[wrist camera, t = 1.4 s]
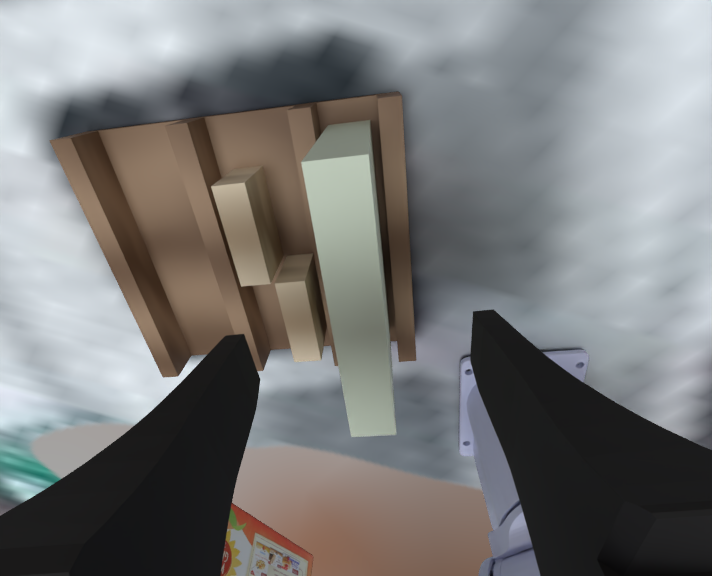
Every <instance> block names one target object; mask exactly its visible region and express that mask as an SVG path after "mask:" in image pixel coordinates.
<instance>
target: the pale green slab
mask: <svg viewBox="0 0 712 576" xmlns="http://www.w3.org/2000/svg"><path fill="white" fill-rule="evenodd" d="M301 164H302V170H303V175H304V181H305V186H306V191H307V197H308V202H309V208H310V213H311V219H312V224H313V230H314V235H315V241H316V246H317V252H318V257H319V263H320V268H321V274H322V279H323V284H324V290H325V295H326V301H327V306H328V312H329V317H330V323H331V328H332V334H333V339H334V345H335V350H336V356H337V361H338V367H339V372H340V378H341V383H342V388H343V394H344V399H345V405H346V410H347V416H348V421H349V427H350V432H351V437H362V436H383V435H396V422H395V406H394V390H393V374H392V358H391V342H390V326H389V316H388V305H387V294H386V283H385V273H384V262H383V251H382V240H381V230H380V219H379V208H378V197H377V186H376V176H375V165H374V154H373V143H372V133H371V122H370V120H366V121H357V122H349V123H341V124H333V125H328V126H327V127H326V129H325V130H324V131H323V133H322V134H321V136H320V137H319V138H318V140H317V141H316V142H315V144H314V145H313V147H312V148H311V149H310V151H309V152H308V153H307V155H306V156H305V157H304V159H303V160H302V162H301Z"/></svg>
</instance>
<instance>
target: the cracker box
mask: <svg viewBox="0 0 712 576" xmlns="http://www.w3.org/2000/svg"><path fill="white" fill-rule="evenodd" d="M312 564H313V556H312V554H310V553H308V552H307V551H305V550H304V549H302V548H301V547H299V546H297V545H296V544H294V543H293V542H291V541H290V540H288V539H287V538H285V537H284V536H282V535H280V534H279V533H277V532H276V531H274V530H273V529H271V528H269V527H268V526H267V525H265V524H263V523H262V522H261V521H259V520H257V519H256V518H254V517H253V516H251V515H250V514H248V513H247V512H245V511H244V510H242V509H240V508H239V507H237V506H236V505H234V504H233V503H232V504H231V510H230V516H229V521H228V528H227V534H226V541H225V547H224V554H223V560H222V568H221V576H311V573H312Z"/></svg>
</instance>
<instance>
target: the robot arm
mask: <svg viewBox="0 0 712 576" xmlns="http://www.w3.org/2000/svg"><path fill="white" fill-rule="evenodd" d="M579 362H581V363H579ZM588 362H589V355H588V354H587V352H586V351H584V350H567V351H552V352H541V351H540V350H539V349H538V348H537V347H535V346H534V345H533V344H532V343H530V342H529V341H528V340H527V339H526V338H525V337H524V336H522V335H521V334H520V333H519V332H518V331H517V330H516V329H514V328H513V327H512V326H511V325H510V324H509V323H508V322H507V321H506V320H505V319H503V318H502V317H501V316H500V315H499V314H498V313H497V312H496V311H494V310H484V311H474V312H473V324H472V341H471V357H466V358H464V359H462V360H461V362H460V403H459V452H460V454H461V455H463V456H474V459H475V462H476V466H477V470H478V474H479V478H480V482H481V486H482V490H483V494H484V497H485V502H486V505H487V509H488V513H489V517H490V521H491V524H492V528H493V531H491V532H489V533H488V538H489V542H490V545H491V550H492V554H493V557H490V558H487V559H486V560H485V561H484V562H483V563H482V565H481V567H480V571H479V576H712V450H710V449H707V448H705V447H703V446H700V445H698V444H696V443H694V442H692V441H690V440H687V439H685V438H683V437H681V436H679V435H677V434H675V433H672V432H670V431H668V430H666V429H664V428H662V427H660V426H658V425H656V424H654V423H652V422H650V421H648V420H646V419H644V418H643V417H641V416H639V415H637V414H635V413H633V412H632V411H630V410H628V409H626V408H624V407H622V406H621V405H619V404H617V403H615V402H614V401H612V400H610V399H609V398H607V397H605V396H604V395H602V394H601V393H599V392H597V391H596V390H594V389H593V388H591V387H590V386H588V385H586V384H585V383H584V379H585V375H586V370H587V366H588ZM577 363H579V364H577ZM468 369H471V370H470V371H466V370H468ZM259 385H260V378H259V375H258V372H257V369H256V366H255V363H254V361H253V358H252V355H251V352H250V349H249V346H248V343H247V341H246V338H245V335H244V334H237V335H226V336H225V337H224V338H223V339H222V340H221V341H220V342H219V343H218V344H217V345H216V346H215V347H214V348H213V349H212V350H211V351H210V352H209V353H208V355H207V356H206V357H205V358H204V359H203V360H202V361H201V362H200V363H199V364H198V365H197V366H196V367H195V368H194V370H193V371H192V372H191V373H190V374H189V375H188V376H187V377H186V378H185V379H184V380H183V381H182V382H181V383H180V384H179V385H178V386H177V387H176V388H175V389H174V390H173V391H172V392H171V393H170V394H169V395H168V396H167V397H166V398H165V399H164V400H163V401H162V402H161V403H160V404H159V405H157V406H156V407H155V408H154V409H153V410H152V411H151V412H150V413H149V414H148V415H146V416H145V417H144V418H143V419H142V420H141V421H139V422H138V423H137V424H136V425H135V426H133V427H132V428H131V429H130V430H129V431H127V432H126V433H125V434H124V435H123V436H121V437H120V438H119V439H117V440H116V441H115V442H113V443H112V444H111V445H109V446H108V447H107V448H105V449H104V450H103V451H101V452H100V453H98V454H97V455H96V456H94V457H93V458H92V459H90V460H89V461H88V462H86V463H85V464H83V465H82V466H80V467H79V468H77V469H76V470H74V471H73V472H71V473H70V474H69V475H67V476H65V477H64V478H62V479H61V480H59V481H58V482H56V483H55V484H53V485H51V486H50V487H48V488H47V489H45V490H44V491H42V492H40V493H39V494H37V495H35V496H34V497H32V498H30V499H29V500H27V501H25V502H23V503H22V504H20V505H18V506H16V507H15V508H13V509H11V510H10V511H8V512H6V513H4V514H3V515H1V516H0V576H221V568H222V560H223V554H224V547H225V541H226V534H227V528H228V521H229V516H230V510H231V504H232V498H233V493H234V488H235V484H236V480H237V475H238V472H239V468H240V465H241V461H242V458H243V454H244V451H245V447H246V444H247V440H248V437H249V433H250V430H251V426H252V422H253V419H254V415H255V411H256V406H257V400H258V393H259Z"/></svg>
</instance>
